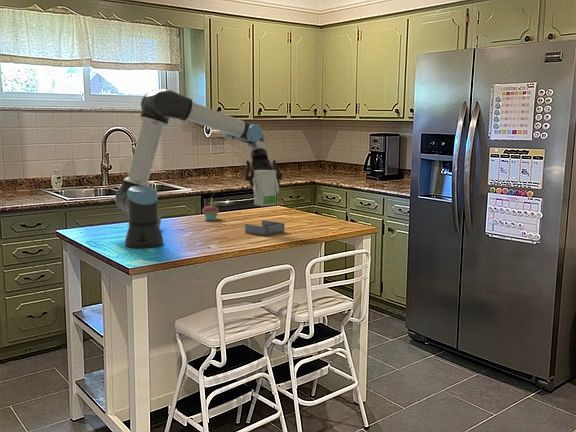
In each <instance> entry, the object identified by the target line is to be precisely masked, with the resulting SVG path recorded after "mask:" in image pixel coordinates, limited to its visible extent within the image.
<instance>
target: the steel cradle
mask: <svg viewBox="0 0 576 432" xmlns="http://www.w3.org/2000/svg"><path fill="white" fill-rule="evenodd" d="M244 232H245V234H249V235H256V236H262V237H270V236H273V235H277V234H281V233H284V232H285V223H284V222H279V221H278V222H277V221H272V220H265V219H262V220H261V225H257V224H256V225H255V224H249V223H245V224H244Z"/></svg>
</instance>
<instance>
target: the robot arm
mask: <svg viewBox="0 0 576 432" xmlns="http://www.w3.org/2000/svg"><path fill="white" fill-rule="evenodd" d="M140 108H141V114H140V117H139V118H140V120H141V121H142V124H141V127H140V132H139V135H138V139H137V142H136V146H135V149H134V152H133V156H132V161H131V163H130V167H129V171H128V175H127V176H126V177H125V178H122V179H123V180H122V183H121V186H120V188H118V189H117V191H116V193H115V199H114V200H115V204H116V206H117V207H118V209H120V211H122V212H123V213H124V214H128V229H127V231H126V237H125V240H124V242H125V245H124V246H126V247H128V248H133V249H146V248H147V249H148V248H155V247H160V246H162V245H163V244H164V237H163V235H162V232H161V229H160V228H159V226H158V213H159V209H158V207H159V206H158V199H159V197H158V191H157V189H156V188H154V187H152V186H150V184H149V181H150V177H151V172H152V168H153V165H154V162H155V157H156V154H157V151H158V147H159V144H160V139H161V136H162V132H163V129H164V128H165V127H168V125H169V122H170V121H169V120H170V119H175V120H176V119H177V120H180V121H183V122H186V121H190V122H192V123H193V122H194V123H195V124H199V125H200V126H201V125H202V126H204V127H208V128H210V129H214V130H216V131H218V132H222V133H223V134H224V136H225V137H226V138H228V139H232V140H235V141H238V142H242V143H244V144H248V148H249V153H250V158H251V161H249V160H246V162H245V166H246V170H245V176H244V181H245V182H247V181H248V183H249V186H250V187H251V188H252V190H253V195H254V194H256V185H255V179H254V170H276V194H279V192H280V184H281V182H280V180H282V179H283V174H282V172H281V170H280V169H279V167H278V165H277V162H276V160H275V159H274V160H272V161H271V160H269V157H268V153H267V148H266V143H265V138H264V131H263V129H262V127H261V126H260V125H259V124H257V123H250V122H246V121H244V120H242V119H239V118H236V117H234V116H230V115H228V114H225V113H222V112H220V111H217V110H214V109H213V108H209V107H208V106H204V105H202V104H198V103H197V102H194V101H193V99H192V98H189V97H187V96H185V95H182V94H180V93H178V92H176V91H173V90H170V89H168V88H167V89H153V90H150V91H148V92H146V93H145V94H144V95H143V97H142V98H141V101H140ZM251 166H253V170H252V171H251V174H250V167H251ZM249 175H250V176H249Z"/></svg>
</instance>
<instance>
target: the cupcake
mask: <svg viewBox="0 0 576 432" xmlns="http://www.w3.org/2000/svg"><path fill="white" fill-rule="evenodd" d="M219 210H220V209H219V208H218V207H217V206H216V205H213V197H211V198H210V205H206V206H204V207H203V208H202V210H201V213H202V214H203V215H204V217H205V220H206V221H216V219H217V216H218V215H219V213H220V211H219Z"/></svg>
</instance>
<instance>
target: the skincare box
mask: <svg viewBox="0 0 576 432" xmlns="http://www.w3.org/2000/svg"><path fill="white" fill-rule="evenodd" d="M253 170H254V169H253ZM253 178H254V179H255V185H256V194H254V193H253V199H254V200H253V204H254V206H259V207H266V206H268V207H269V206H276V205H277V192H276V170H274V169H272V170H258V169H257V170H254V177H253Z"/></svg>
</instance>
